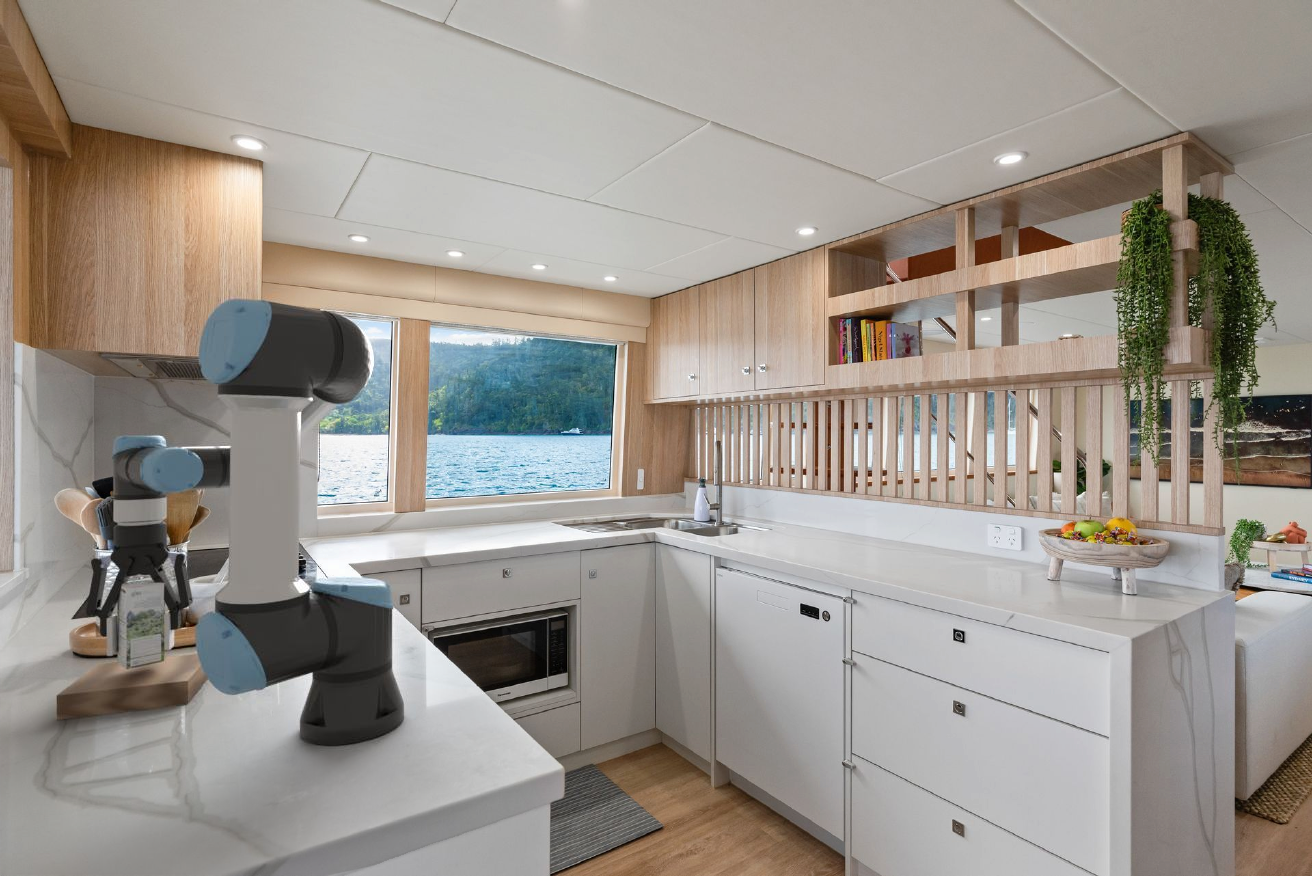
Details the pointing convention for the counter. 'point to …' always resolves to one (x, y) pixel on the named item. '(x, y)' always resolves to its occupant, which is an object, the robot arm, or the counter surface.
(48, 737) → the counter surface
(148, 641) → the syrup box
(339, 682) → the robot arm
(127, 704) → the block
